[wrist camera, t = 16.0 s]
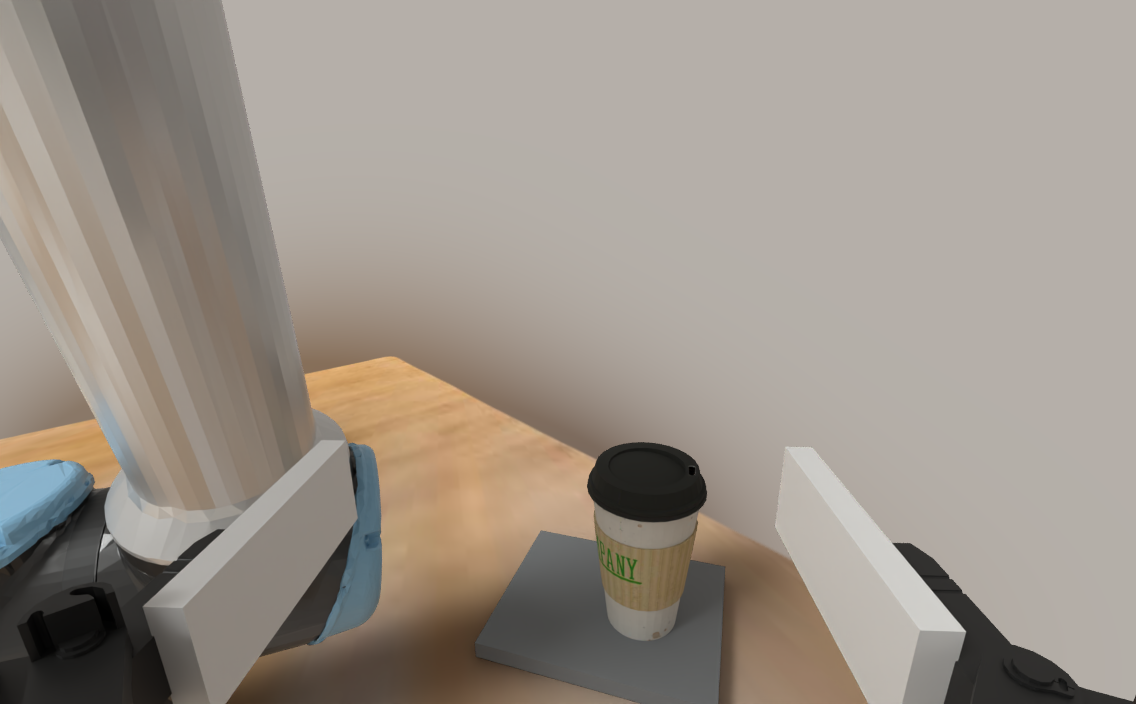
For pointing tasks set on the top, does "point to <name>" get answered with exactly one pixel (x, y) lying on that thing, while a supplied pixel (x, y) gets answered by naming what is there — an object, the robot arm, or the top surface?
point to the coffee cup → (645, 533)
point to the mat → (604, 629)
